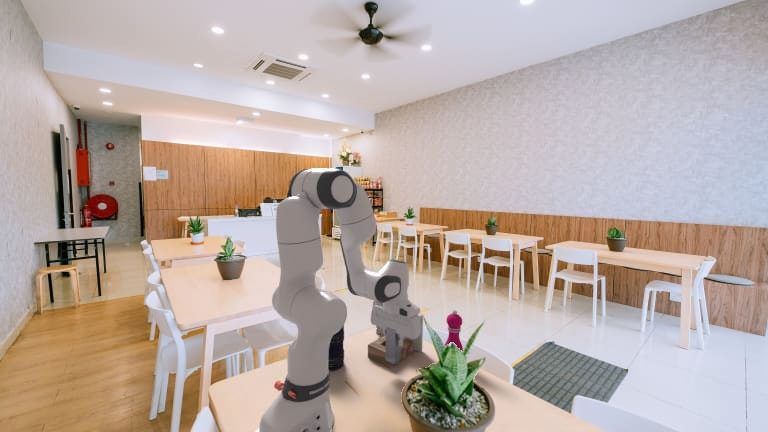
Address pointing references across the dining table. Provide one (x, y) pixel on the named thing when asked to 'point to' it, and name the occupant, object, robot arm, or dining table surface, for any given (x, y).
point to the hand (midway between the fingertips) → (393, 343)
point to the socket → (379, 347)
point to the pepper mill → (454, 329)
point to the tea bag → (379, 330)
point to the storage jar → (336, 351)
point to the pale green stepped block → (418, 341)
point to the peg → (392, 346)
